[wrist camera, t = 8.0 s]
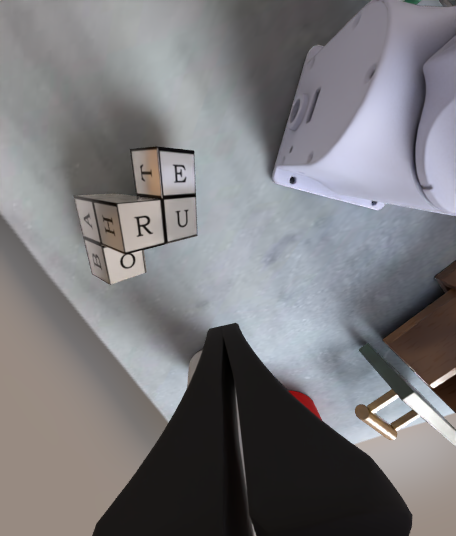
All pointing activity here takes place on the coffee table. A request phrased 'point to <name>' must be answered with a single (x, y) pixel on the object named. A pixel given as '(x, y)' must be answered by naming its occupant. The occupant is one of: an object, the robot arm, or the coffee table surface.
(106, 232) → the building blocks
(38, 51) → the coffee table surface
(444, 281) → the cabinet
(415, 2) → the toy vehicle
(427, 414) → the drawer
